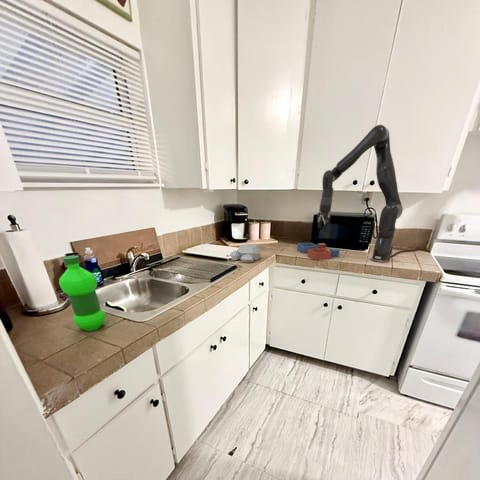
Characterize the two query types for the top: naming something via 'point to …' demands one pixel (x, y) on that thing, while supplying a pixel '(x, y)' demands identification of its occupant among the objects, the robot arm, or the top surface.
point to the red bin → (319, 254)
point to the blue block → (334, 252)
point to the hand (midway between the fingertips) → (322, 229)
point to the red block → (322, 245)
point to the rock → (246, 253)
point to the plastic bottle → (82, 294)
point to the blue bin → (306, 247)
